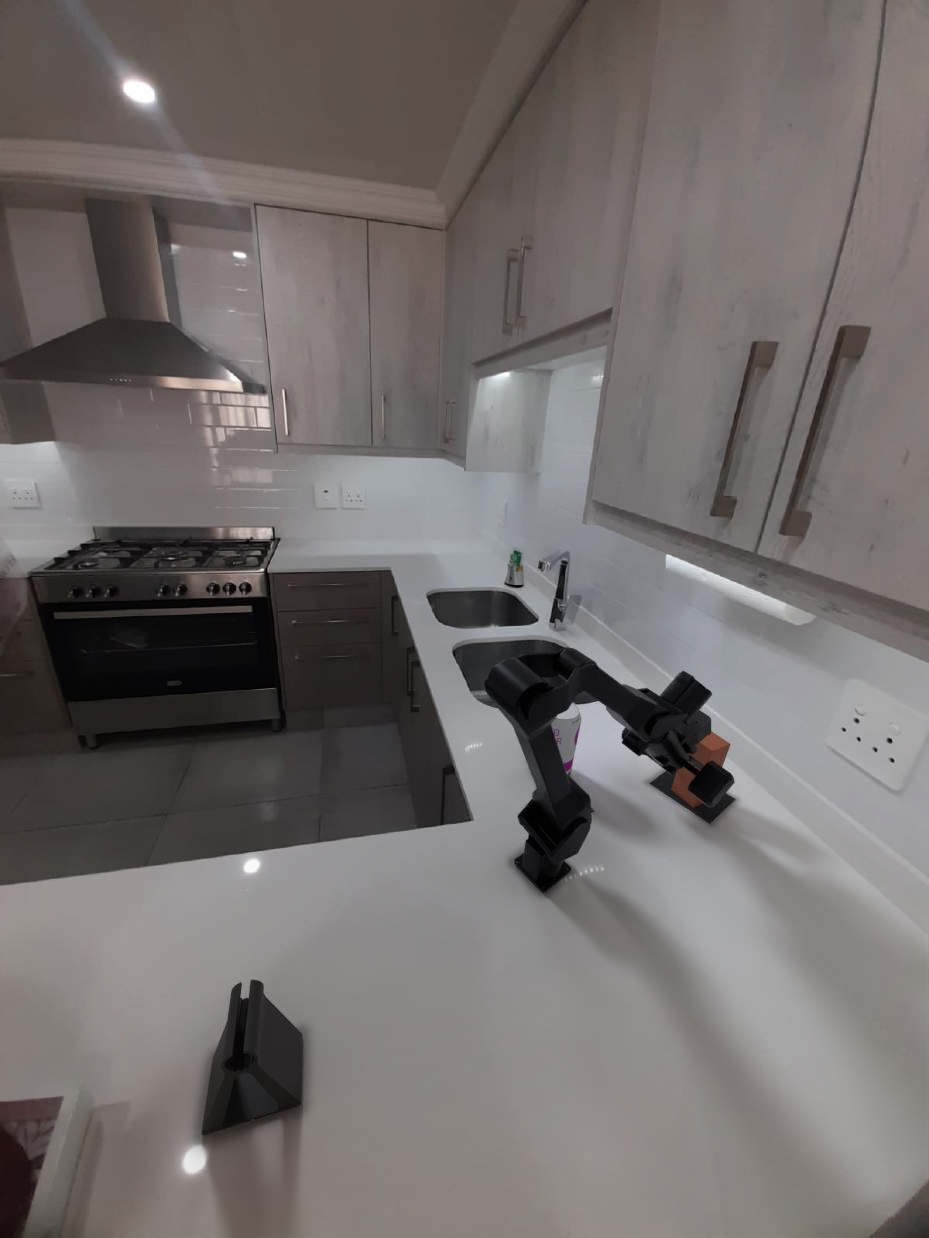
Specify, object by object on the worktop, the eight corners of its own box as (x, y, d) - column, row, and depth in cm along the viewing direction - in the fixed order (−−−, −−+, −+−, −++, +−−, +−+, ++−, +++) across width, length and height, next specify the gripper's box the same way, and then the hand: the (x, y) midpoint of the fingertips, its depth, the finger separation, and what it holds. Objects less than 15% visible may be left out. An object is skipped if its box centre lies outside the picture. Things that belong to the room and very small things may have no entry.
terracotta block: (693, 807, 89) (712, 751, 83) (670, 789, 93) (688, 734, 87) (710, 799, 91) (731, 743, 86) (688, 782, 95) (706, 727, 90)
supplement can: (567, 760, 99) (579, 697, 92) (571, 789, 91) (585, 723, 85) (527, 755, 99) (537, 693, 93) (528, 784, 92) (538, 718, 86)
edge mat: (709, 823, 86) (710, 823, 86) (649, 783, 94) (649, 782, 94) (735, 799, 92) (735, 798, 92) (676, 763, 100) (676, 762, 100)
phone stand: (303, 1036, 54) (294, 969, 49) (301, 1105, 48) (291, 1038, 43) (213, 1059, 51) (195, 991, 46) (201, 1135, 46) (179, 1068, 41)
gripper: (746, 734, 71) (765, 771, 81) (646, 674, 86) (673, 711, 95) (697, 792, 71) (722, 823, 80) (605, 721, 85) (636, 754, 95)
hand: (686, 773), depth 88 cm, fingers open, 9 cm apart
